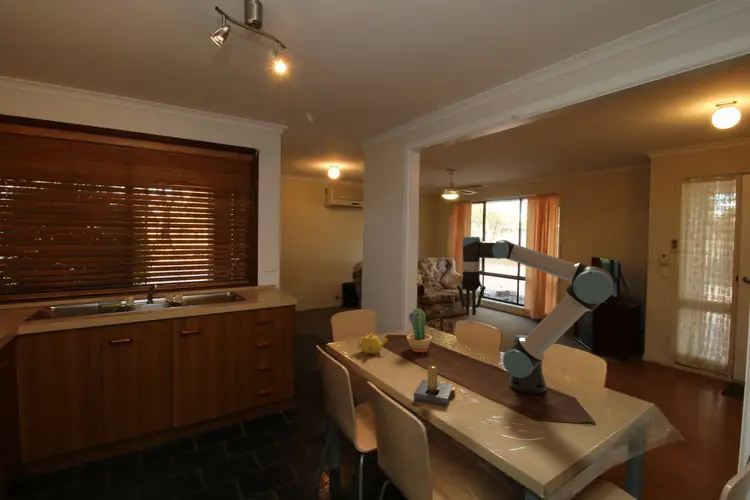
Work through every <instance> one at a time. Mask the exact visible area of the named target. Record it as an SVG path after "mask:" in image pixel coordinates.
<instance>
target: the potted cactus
mask: <svg viewBox="0 0 750 500" xmlns="http://www.w3.org/2000/svg"><path fill="white" fill-rule="evenodd" d="M426 320H427V319H426V313H425V312H424V310H422V308H414V309H413V311H411V312H409V314H408V321H409V322H410V324H411V326H412V328H413V333H411V334H408V335H406V341H408V344H409V346H410V347H411V351H412V350H413V351H415V353H417V352H423V353H426V352H427V351H428V350H427V349H428V348H429V346H430V343H431V342H432V340H433V337H432V335H430V334H426V329H425V326H426V323H427V322H426ZM413 351H412V352H413Z"/></svg>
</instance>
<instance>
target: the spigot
mask: <svg viewBox="0 0 750 500" xmlns="http://www.w3.org/2000/svg"><path fill="white" fill-rule="evenodd" d="M427 380H428V394H432V395H437V382H438V366H437V365H434V364H433V365H432V364H430V365H428V366H427Z"/></svg>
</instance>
